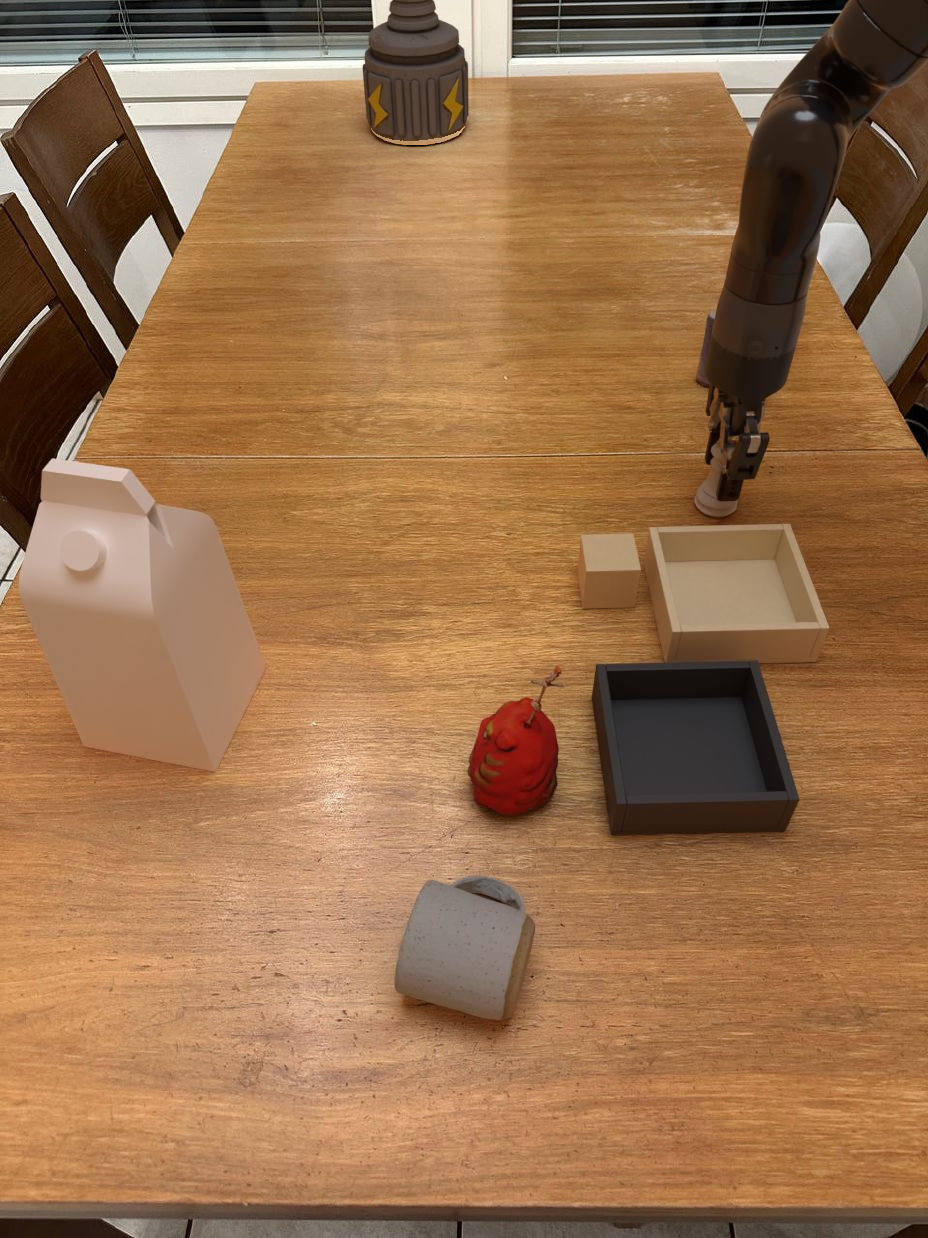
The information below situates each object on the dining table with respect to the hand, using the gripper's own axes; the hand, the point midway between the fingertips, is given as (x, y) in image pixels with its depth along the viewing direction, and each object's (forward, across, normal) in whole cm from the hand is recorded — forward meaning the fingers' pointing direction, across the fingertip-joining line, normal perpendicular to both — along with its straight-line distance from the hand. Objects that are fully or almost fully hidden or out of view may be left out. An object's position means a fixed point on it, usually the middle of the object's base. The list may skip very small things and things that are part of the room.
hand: (720, 479), depth 97 cm
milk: (+4, -25, +52) cm, 58 cm away
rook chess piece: (+4, 0, 0) cm, 4 cm away
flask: (+4, +21, -6) cm, 22 cm away
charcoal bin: (+3, -32, +9) cm, 33 cm away
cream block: (+3, -12, +13) cm, 18 cm away
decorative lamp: (+4, +107, +33) cm, 112 cm away
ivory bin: (+3, -15, +2) cm, 16 cm away
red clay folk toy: (+4, -34, +23) cm, 41 cm away
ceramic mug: (+4, -48, +27) cm, 55 cm away
